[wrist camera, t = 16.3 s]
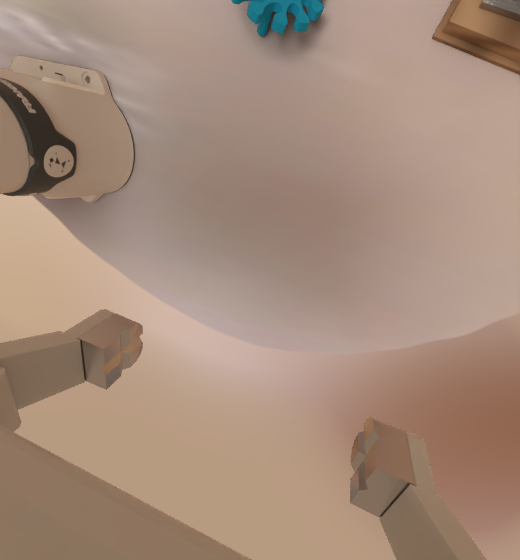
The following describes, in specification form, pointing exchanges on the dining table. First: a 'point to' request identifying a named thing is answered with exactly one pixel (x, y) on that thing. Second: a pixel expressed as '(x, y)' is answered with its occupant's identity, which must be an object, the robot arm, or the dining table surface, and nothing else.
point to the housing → (503, 8)
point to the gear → (282, 13)
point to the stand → (481, 33)
